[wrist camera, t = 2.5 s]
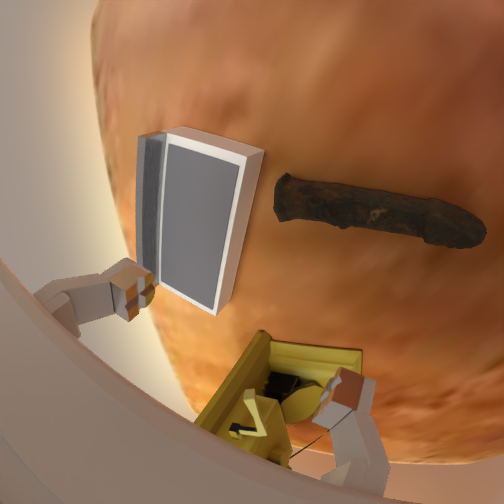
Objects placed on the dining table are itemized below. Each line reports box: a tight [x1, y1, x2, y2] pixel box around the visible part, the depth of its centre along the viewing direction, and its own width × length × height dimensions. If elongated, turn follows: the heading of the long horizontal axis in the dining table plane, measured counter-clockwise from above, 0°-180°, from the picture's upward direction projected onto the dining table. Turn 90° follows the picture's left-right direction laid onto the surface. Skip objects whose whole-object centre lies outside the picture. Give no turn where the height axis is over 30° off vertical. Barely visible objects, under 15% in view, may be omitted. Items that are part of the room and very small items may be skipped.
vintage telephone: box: [194, 330, 362, 470], centre depth 28 cm, size 31×14×30 cm, turn 14°
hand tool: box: [273, 173, 487, 249], centre depth 22 cm, size 19×4×5 cm, turn 91°
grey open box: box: [136, 126, 265, 316], centre depth 32 cm, size 10×20×7 cm, turn 167°
